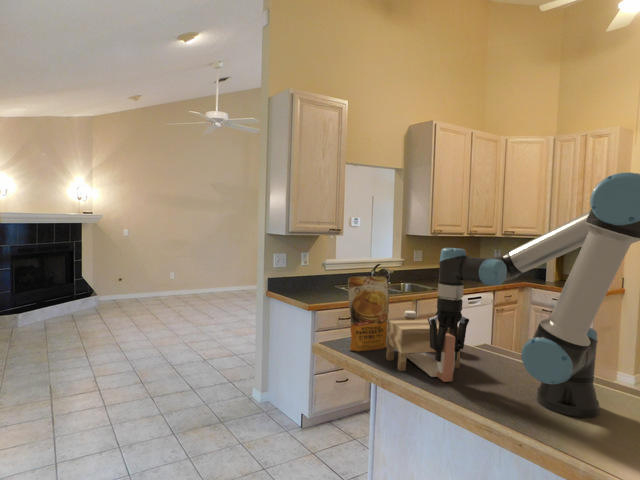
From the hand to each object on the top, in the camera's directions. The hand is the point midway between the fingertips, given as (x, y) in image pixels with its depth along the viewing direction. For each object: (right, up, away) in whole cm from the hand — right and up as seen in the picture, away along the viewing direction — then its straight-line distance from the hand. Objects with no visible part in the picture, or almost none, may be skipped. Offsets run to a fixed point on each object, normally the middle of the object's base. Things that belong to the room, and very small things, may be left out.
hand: (445, 370), depth 129 cm
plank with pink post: (-2, -2, +9) cm, 9 cm away
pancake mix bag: (-21, -1, +29) cm, 36 cm away
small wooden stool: (-4, -2, +15) cm, 16 cm away
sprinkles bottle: (-4, -1, +37) cm, 37 cm away
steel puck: (-6, -2, +22) cm, 23 cm away
